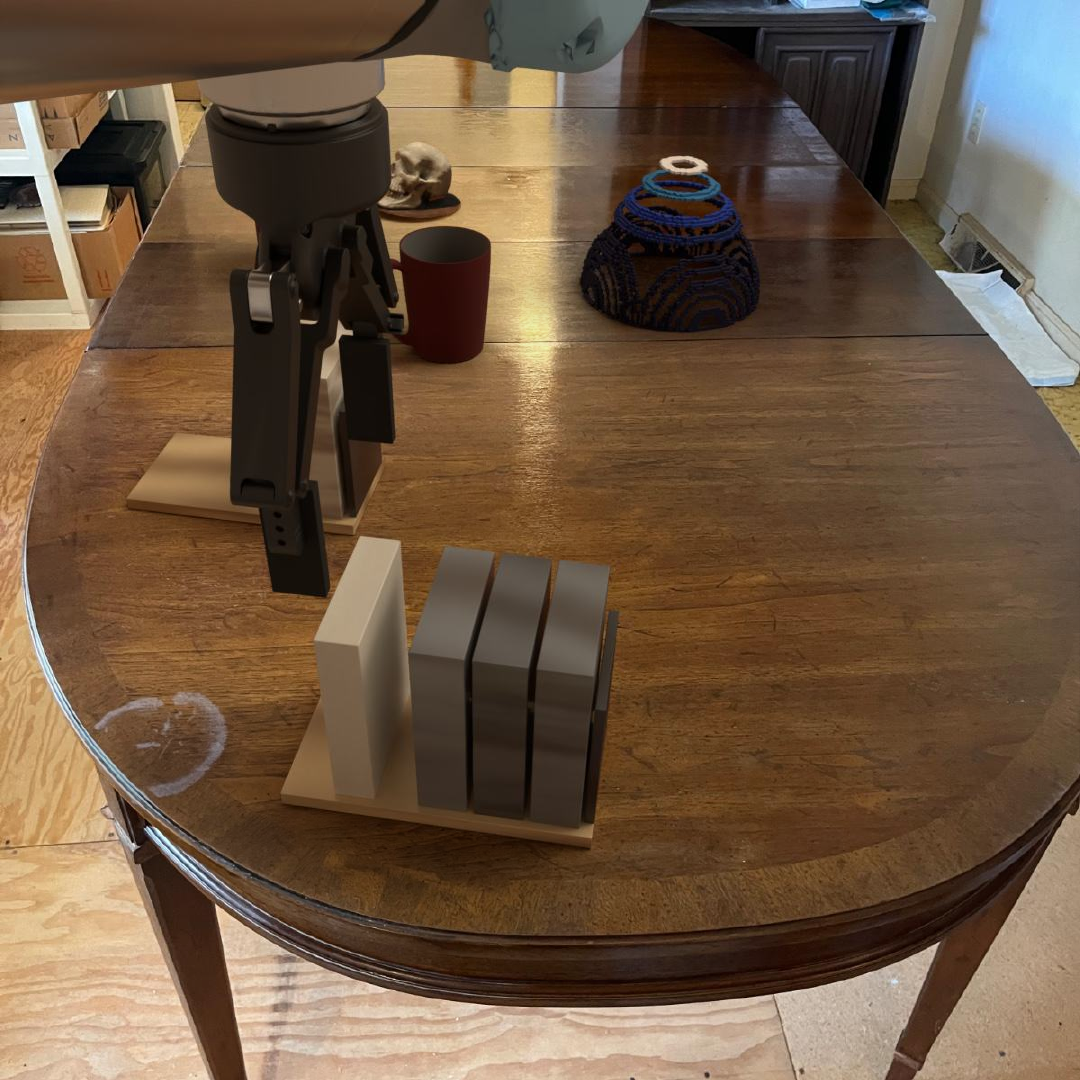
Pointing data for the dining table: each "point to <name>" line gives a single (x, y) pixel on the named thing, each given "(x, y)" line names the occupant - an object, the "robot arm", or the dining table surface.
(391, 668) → the white book
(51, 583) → the dining table surface
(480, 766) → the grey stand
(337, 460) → the beige stand
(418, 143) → the skull
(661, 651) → the dining table surface
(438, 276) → the mug
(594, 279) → the decorative bowl
